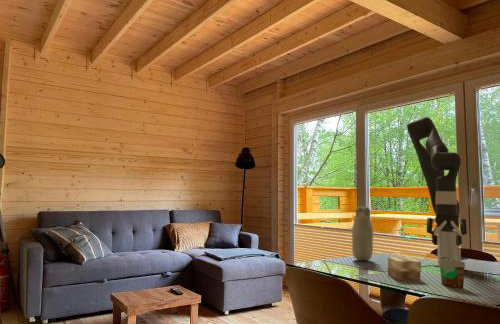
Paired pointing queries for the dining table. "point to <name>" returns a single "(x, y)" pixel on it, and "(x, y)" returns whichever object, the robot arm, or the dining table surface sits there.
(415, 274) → the walnut slab
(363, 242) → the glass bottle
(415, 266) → the birch slab
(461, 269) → the food container
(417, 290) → the dining table surface
